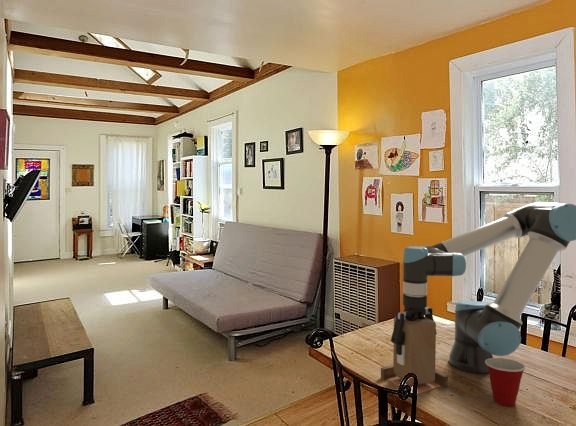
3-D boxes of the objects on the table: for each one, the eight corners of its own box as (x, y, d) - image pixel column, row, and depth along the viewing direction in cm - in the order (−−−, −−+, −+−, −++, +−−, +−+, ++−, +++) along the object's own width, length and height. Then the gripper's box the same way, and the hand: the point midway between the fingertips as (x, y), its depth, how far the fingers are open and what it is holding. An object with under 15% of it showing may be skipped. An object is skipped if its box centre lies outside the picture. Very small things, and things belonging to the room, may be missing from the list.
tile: (413, 372, 144) (413, 371, 144) (440, 386, 133) (440, 385, 133) (387, 379, 138) (387, 378, 138) (413, 395, 127) (413, 394, 127)
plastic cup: (511, 392, 129) (512, 354, 129) (532, 410, 119) (533, 370, 118) (477, 392, 129) (478, 355, 128) (495, 411, 118) (496, 370, 117)
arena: (413, 368, 146) (413, 359, 146) (447, 386, 133) (447, 375, 133) (380, 377, 139) (380, 367, 139) (413, 397, 126) (413, 386, 126)
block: (436, 382, 132) (437, 321, 131) (410, 387, 129) (410, 325, 128) (417, 369, 142) (417, 312, 141) (392, 373, 139) (392, 315, 137)
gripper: (431, 287, 143) (430, 349, 144) (379, 296, 132) (378, 363, 133) (449, 292, 136) (447, 357, 137) (395, 301, 125) (395, 372, 126)
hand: (413, 360), depth 135 cm, fingers open, 11 cm apart
